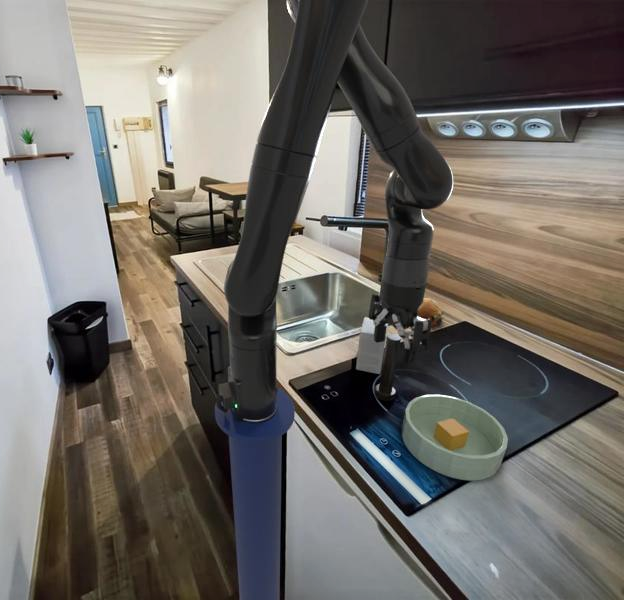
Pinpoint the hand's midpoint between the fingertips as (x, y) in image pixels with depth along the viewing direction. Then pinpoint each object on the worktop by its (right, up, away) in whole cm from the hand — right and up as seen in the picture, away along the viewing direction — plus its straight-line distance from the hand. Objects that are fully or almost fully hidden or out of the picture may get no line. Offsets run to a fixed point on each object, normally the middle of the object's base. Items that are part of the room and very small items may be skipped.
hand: (392, 351), depth 74 cm
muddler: (0, -10, +5) cm, 11 cm away
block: (+6, -15, -8) cm, 18 cm away
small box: (+1, -5, +15) cm, 16 cm away
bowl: (+6, -16, -8) cm, 19 cm away
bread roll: (+25, +5, +34) cm, 42 cm away
